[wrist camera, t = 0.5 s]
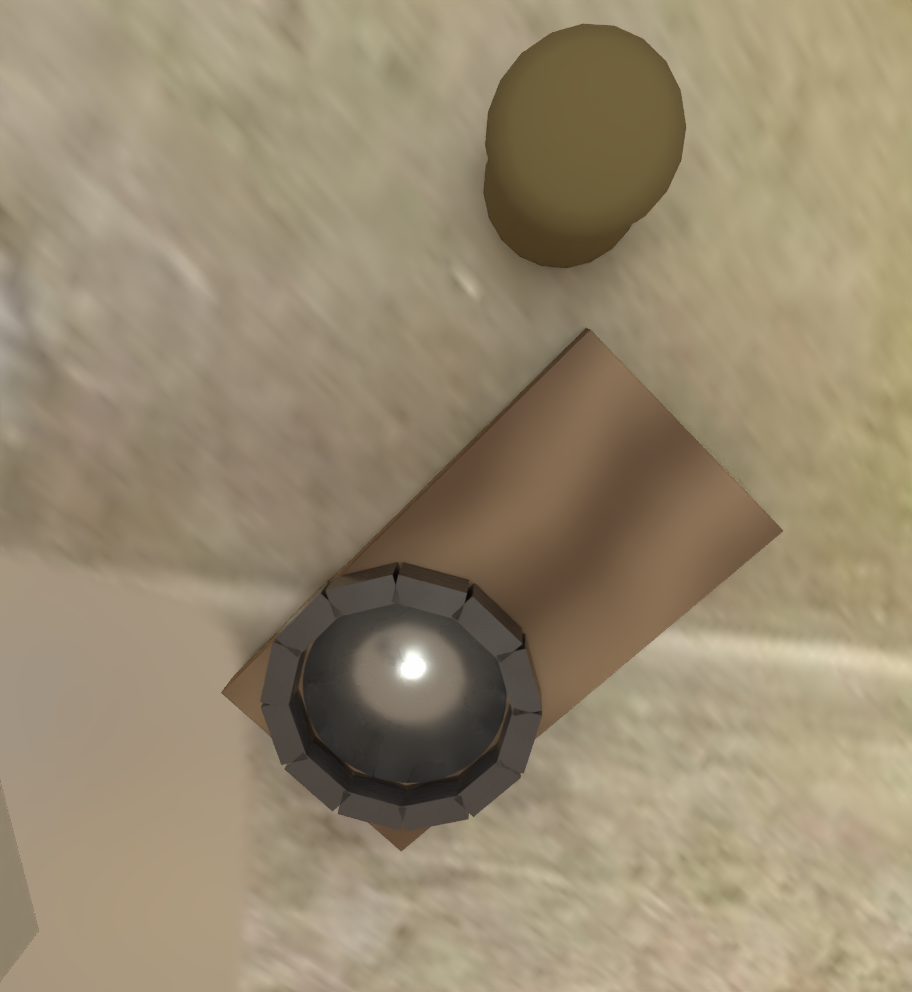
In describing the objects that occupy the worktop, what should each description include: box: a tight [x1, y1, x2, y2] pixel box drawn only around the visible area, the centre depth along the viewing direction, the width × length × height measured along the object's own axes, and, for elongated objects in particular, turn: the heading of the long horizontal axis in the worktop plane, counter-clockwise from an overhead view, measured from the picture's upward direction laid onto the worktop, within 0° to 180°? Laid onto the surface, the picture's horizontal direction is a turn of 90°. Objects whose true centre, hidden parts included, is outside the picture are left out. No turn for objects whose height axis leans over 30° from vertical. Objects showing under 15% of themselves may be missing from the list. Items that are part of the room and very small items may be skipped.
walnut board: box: [222, 328, 783, 851], centre depth 33 cm, size 11×22×2 cm, turn 135°
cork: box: [484, 24, 686, 268], centre depth 24 cm, size 6×6×11 cm
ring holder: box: [260, 562, 542, 831], centre depth 33 cm, size 11×11×2 cm
